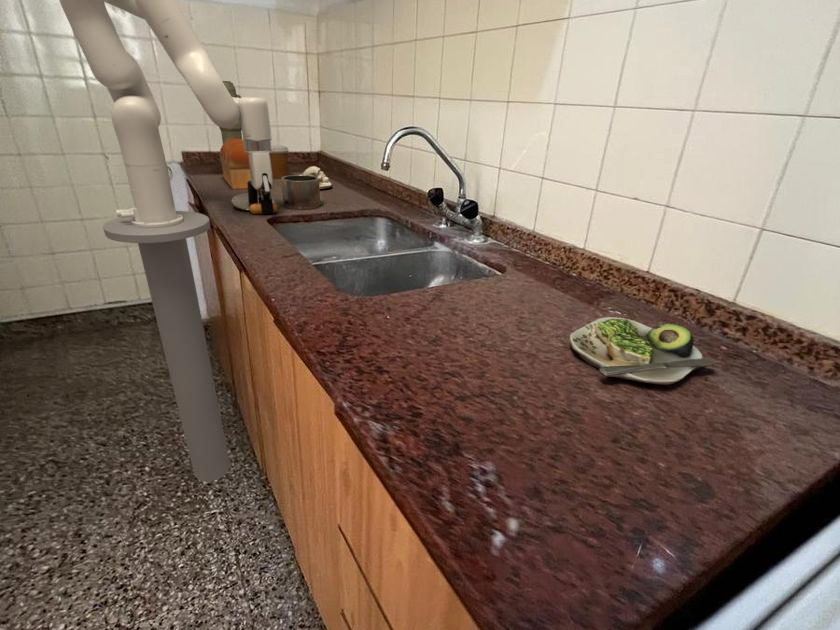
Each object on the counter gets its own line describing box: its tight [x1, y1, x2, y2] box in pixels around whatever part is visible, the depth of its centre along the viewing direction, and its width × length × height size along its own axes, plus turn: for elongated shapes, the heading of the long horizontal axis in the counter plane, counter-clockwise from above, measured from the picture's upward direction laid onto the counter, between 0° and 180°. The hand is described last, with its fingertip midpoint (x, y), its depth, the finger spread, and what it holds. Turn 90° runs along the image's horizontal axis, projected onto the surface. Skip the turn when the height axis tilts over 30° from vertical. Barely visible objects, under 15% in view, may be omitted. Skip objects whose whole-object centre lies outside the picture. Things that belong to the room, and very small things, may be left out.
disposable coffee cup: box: [269, 144, 290, 179], centre depth 186 cm, size 10×10×12 cm
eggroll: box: [249, 202, 279, 215], centre depth 133 cm, size 8×3×3 cm, turn 117°
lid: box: [231, 181, 275, 212], centre depth 137 cm, size 12×12×7 cm
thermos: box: [218, 80, 243, 145], centre depth 185 cm, size 9×12×35 cm
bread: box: [219, 138, 251, 190], centre depth 172 cm, size 25×12×15 cm, turn 29°
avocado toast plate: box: [568, 316, 717, 386], centre depth 66 cm, size 19×18×5 cm
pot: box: [280, 174, 321, 210], centre depth 143 cm, size 11×11×8 cm
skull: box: [302, 165, 333, 190], centre depth 171 cm, size 12×10×10 cm
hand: (266, 211), depth 134 cm, fingers closed on eggroll, 3 cm apart
